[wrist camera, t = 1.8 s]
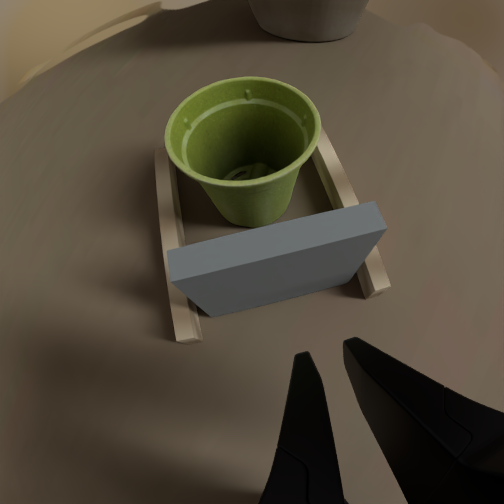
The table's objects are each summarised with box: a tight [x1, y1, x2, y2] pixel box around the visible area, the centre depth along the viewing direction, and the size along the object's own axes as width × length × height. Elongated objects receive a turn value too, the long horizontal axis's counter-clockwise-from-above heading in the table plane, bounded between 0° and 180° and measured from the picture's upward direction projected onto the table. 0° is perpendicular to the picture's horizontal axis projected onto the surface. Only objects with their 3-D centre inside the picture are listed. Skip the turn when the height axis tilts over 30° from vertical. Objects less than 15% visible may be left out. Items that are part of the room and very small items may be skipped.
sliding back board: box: [166, 201, 387, 317], centre depth 18 cm, size 4×10×9 cm, turn 103°
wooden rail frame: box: [154, 125, 391, 344], centre depth 23 cm, size 16×14×2 cm
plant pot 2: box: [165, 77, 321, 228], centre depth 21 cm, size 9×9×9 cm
